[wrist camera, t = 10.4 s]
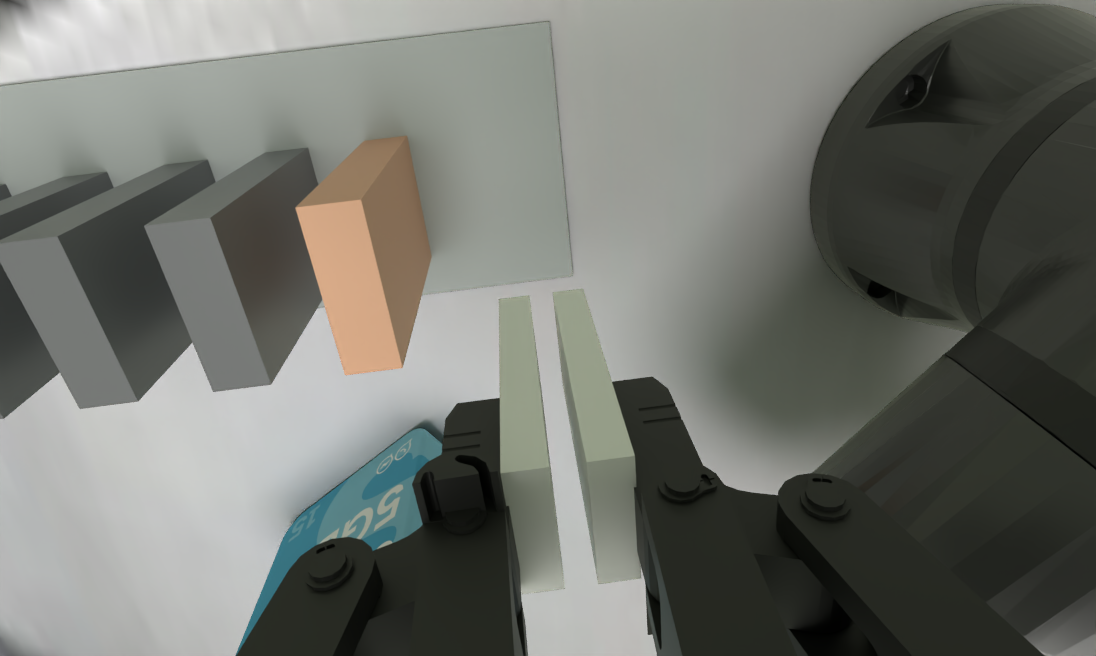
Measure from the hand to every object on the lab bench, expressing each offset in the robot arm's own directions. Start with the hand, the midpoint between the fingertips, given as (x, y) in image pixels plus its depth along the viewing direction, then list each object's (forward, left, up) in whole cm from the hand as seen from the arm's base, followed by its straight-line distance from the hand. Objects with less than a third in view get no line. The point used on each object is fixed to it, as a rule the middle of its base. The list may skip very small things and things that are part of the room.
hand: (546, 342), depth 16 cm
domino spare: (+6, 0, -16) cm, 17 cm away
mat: (+13, -1, -16) cm, 21 cm away
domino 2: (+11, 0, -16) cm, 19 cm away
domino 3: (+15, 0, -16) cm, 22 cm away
